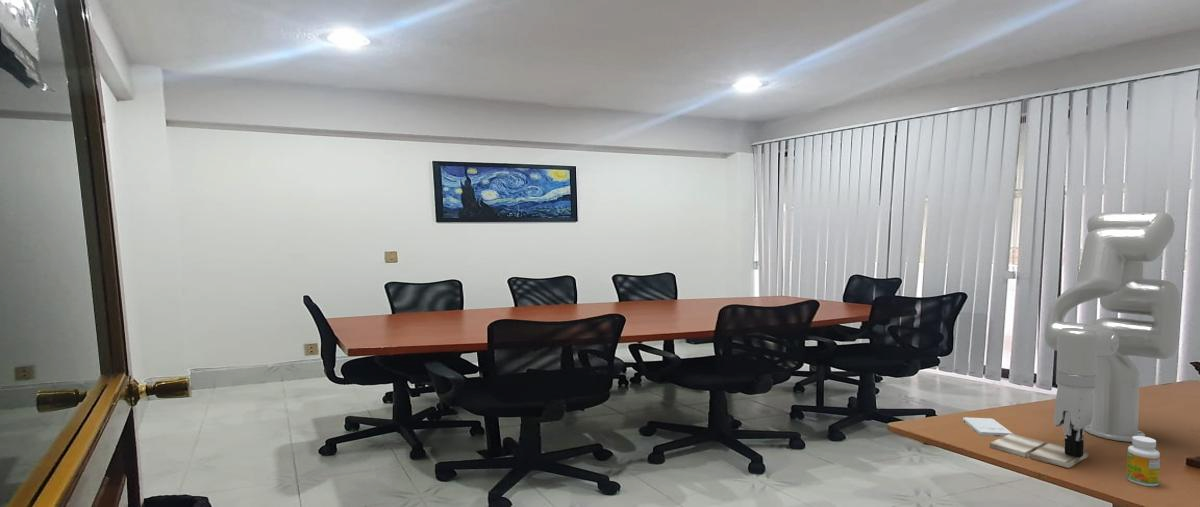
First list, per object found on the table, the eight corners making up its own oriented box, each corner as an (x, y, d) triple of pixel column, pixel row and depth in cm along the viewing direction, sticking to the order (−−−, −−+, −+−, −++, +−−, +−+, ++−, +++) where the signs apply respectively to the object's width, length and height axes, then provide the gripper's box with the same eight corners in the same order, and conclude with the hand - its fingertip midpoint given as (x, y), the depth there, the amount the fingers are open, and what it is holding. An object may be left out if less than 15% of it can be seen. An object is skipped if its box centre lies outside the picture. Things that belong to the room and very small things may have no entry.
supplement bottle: (1120, 477, 137) (1121, 435, 137) (1141, 476, 138) (1143, 434, 137) (1143, 487, 132) (1144, 443, 132) (1165, 486, 133) (1167, 442, 132)
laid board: (1010, 437, 163) (1010, 433, 163) (1048, 447, 156) (1048, 442, 156) (989, 447, 156) (989, 442, 156) (1027, 458, 149) (1027, 453, 149)
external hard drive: (993, 424, 176) (1014, 438, 164) (962, 422, 177) (980, 437, 165) (993, 418, 176) (1014, 433, 164) (962, 417, 177) (980, 431, 165)
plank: (1049, 447, 155) (1049, 442, 155) (1088, 456, 149) (1088, 450, 149) (1029, 458, 149) (1029, 452, 149) (1068, 467, 142) (1068, 462, 142)
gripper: (1069, 372, 153) (1067, 444, 153) (1044, 381, 144) (1042, 457, 145) (1106, 378, 146) (1104, 453, 147) (1083, 388, 138) (1080, 467, 139)
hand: (1073, 455), depth 146 cm, fingers closed
